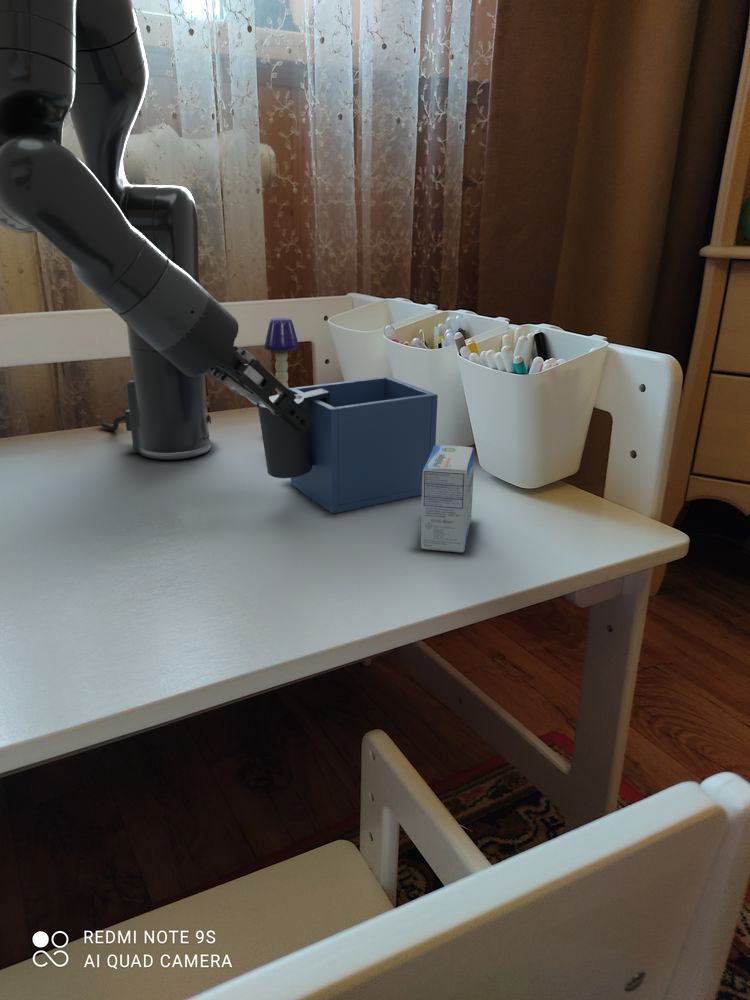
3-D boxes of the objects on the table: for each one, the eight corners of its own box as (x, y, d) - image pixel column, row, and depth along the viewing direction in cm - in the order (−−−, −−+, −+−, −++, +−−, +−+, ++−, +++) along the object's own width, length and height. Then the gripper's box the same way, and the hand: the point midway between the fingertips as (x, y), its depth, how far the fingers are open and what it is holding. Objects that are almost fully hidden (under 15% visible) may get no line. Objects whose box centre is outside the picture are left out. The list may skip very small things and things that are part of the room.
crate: (332, 514, 85) (331, 409, 80) (290, 484, 93) (287, 388, 89) (433, 492, 91) (438, 394, 87) (386, 466, 100) (388, 376, 95)
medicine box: (464, 554, 75) (469, 471, 72) (419, 550, 76) (422, 467, 73) (471, 523, 83) (476, 446, 79) (429, 519, 83) (433, 443, 80)
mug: (279, 482, 83) (269, 411, 80) (260, 468, 87) (250, 400, 84) (343, 463, 86) (336, 395, 83) (322, 451, 90) (315, 385, 87)
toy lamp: (265, 433, 112) (260, 317, 106) (296, 430, 114) (293, 315, 108) (272, 442, 108) (267, 322, 102) (304, 439, 110) (301, 320, 103)
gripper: (229, 297, 69) (342, 406, 79) (179, 280, 80) (283, 378, 90) (176, 361, 68) (296, 463, 78) (133, 336, 80) (243, 427, 89)
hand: (289, 417), depth 84 cm, fingers open, 8 cm apart
